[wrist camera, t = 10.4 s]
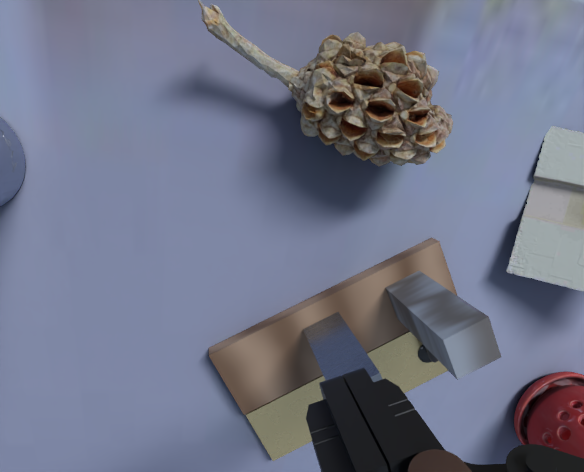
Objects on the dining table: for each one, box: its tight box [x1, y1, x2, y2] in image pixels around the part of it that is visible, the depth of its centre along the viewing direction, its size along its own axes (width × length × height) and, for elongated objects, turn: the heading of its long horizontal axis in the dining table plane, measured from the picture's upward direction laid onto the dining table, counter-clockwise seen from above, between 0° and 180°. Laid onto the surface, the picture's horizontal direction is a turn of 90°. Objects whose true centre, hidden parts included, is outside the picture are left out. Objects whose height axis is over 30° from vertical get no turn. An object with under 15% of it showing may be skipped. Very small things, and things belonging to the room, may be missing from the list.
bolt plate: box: [246, 331, 448, 461], centre depth 44 cm, size 26×7×1 cm, turn 114°
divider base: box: [209, 238, 501, 415], centre depth 37 cm, size 26×12×12 cm, turn 114°
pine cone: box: [198, 0, 453, 167], centre depth 31 cm, size 22×10×10 cm, turn 71°
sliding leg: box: [303, 312, 382, 382], centre depth 37 cm, size 4×10×11 cm, turn 24°
